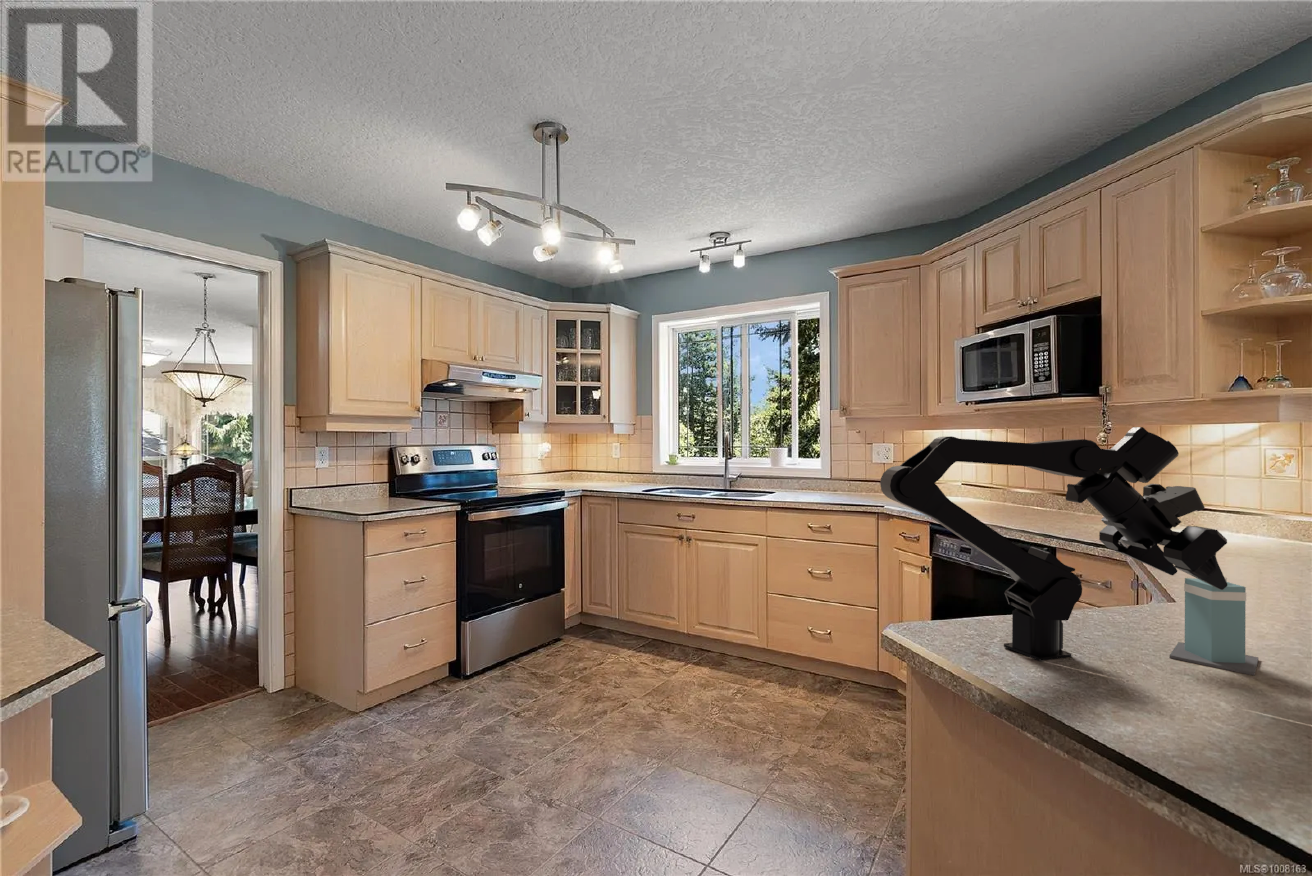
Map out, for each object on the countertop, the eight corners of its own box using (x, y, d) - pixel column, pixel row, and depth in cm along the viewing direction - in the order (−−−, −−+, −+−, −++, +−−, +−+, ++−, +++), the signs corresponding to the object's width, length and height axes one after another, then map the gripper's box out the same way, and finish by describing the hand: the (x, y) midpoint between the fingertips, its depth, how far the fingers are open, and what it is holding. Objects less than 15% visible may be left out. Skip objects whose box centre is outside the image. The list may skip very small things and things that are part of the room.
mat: (1254, 675, 83) (1254, 672, 83) (1169, 657, 89) (1169, 655, 89) (1258, 660, 89) (1258, 657, 89) (1178, 644, 96) (1178, 642, 96)
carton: (1211, 661, 87) (1211, 580, 87) (1184, 649, 92) (1184, 572, 92) (1246, 663, 86) (1246, 581, 86) (1216, 651, 91) (1216, 573, 92)
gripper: (1212, 470, 81) (1301, 555, 80) (1119, 465, 99) (1190, 533, 98) (1149, 526, 82) (1236, 611, 80) (1068, 511, 100) (1138, 579, 99)
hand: (1198, 580), depth 89 cm, fingers open, 9 cm apart
